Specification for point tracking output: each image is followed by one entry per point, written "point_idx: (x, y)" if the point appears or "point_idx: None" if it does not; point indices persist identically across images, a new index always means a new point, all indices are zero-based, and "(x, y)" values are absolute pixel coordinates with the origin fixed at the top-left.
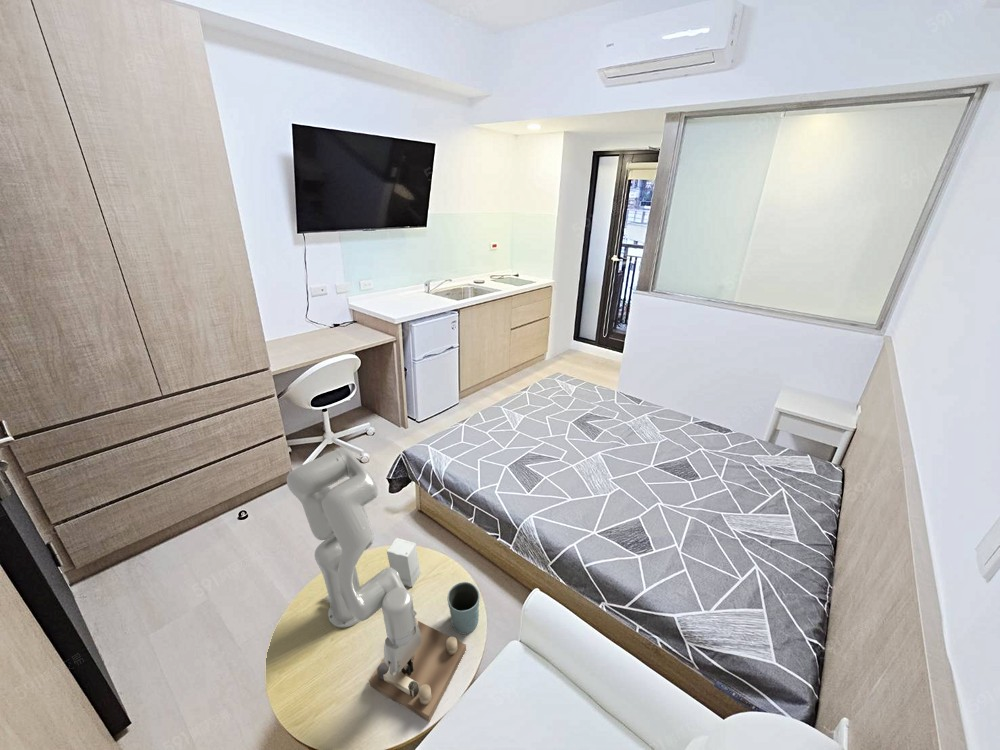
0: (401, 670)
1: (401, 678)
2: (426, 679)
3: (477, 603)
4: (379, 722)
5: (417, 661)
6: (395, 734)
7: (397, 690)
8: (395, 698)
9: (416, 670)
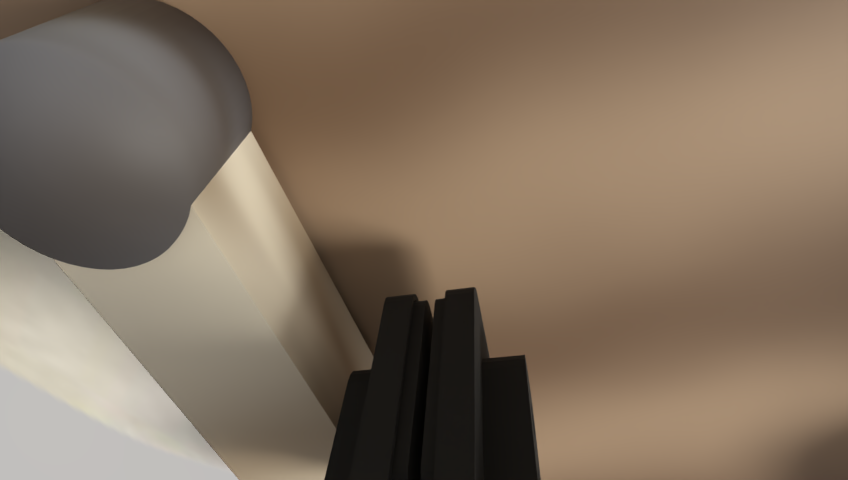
0: (346, 396)
1: (292, 455)
2: (548, 468)
3: None
4: (60, 305)
5: (634, 297)
6: (157, 425)
7: None
8: None
9: (542, 354)
